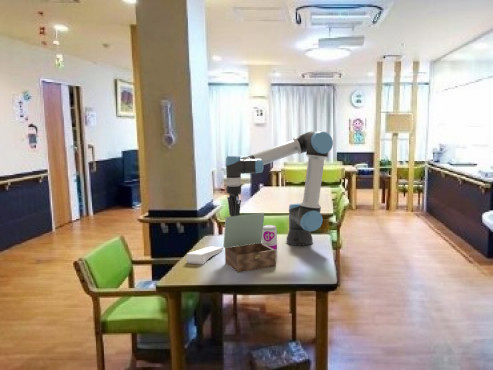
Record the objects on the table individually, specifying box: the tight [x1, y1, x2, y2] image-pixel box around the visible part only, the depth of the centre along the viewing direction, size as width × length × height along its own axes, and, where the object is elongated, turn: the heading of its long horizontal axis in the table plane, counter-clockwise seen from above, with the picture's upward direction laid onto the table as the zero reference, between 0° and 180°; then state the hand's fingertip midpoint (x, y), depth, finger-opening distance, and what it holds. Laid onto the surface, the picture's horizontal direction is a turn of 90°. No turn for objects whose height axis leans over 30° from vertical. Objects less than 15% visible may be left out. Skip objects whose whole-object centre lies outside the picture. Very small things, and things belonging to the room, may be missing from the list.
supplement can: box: [261, 224, 278, 254], centre depth 232 cm, size 8×8×15 cm
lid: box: [222, 212, 265, 249], centre depth 219 cm, size 21×16×1 cm
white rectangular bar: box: [185, 246, 224, 265], centre depth 231 cm, size 10×7×28 cm
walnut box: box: [224, 242, 277, 274], centre depth 214 cm, size 20×17×8 cm
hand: (234, 229), depth 229 cm, fingers closed
